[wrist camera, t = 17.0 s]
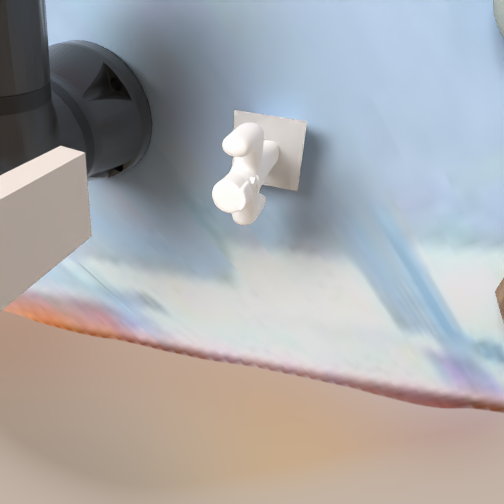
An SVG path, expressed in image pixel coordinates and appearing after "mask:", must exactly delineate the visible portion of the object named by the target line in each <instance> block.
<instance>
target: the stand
mask: <svg viewBox="0 0 504 504" xmlns="http://www.w3.org/2000/svg"><path fill="white" fill-rule="evenodd" d="M495 293H496V297H497V300H498V304H499V308H500V311H501V315H502V319H503V322H504V278H503V280H502V282H501V283H500V285H499V286H498V288H497V290H496V291H495Z"/></svg>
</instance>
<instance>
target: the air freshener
mask: <svg viewBox="0 0 504 504" xmlns="http://www.w3.org/2000/svg"><path fill="white" fill-rule="evenodd" d="M493 7H494V16H495V19H496V23H497V27H498V29H499V31H500V32H501V34H502V36H503V38H504V0H493Z"/></svg>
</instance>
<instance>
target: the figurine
mask: <svg viewBox="0 0 504 504" xmlns="http://www.w3.org/2000/svg"><path fill="white" fill-rule="evenodd" d="M306 127H307V121H301V120H295V119H289V118H282V117H276V116H270V115H263V114H257V113H251V112H244V111H238V110H234V129H233V131H232V132H231V133H230V134H229V135H228V136H227V137H226V138H225V139H224V140H223V143H222V147H223V150H224V151H225V152H226V153H227V154H228V155H231V156H232V168H231V170H230V172H229V173H228V174H227V175H226V176H225V177H224V178H223V179H222V180H220V181H219V182H218V183H217V184H216V185H215V186H214V188H213V191H212V197H213V200H214V203H215V204H216V206H217V207H218V208H219V209H220V210H222V211H224V212H226V213H232V217H233V219H234V221H235V222H236V223H237V224H240V225H249V224H251V223H253V222H254V221H255V220H256V219H257V218H258V216H259V214H260V213H261V211H262V210H263V208H264V206H265V204H266V198H265V196H264V195H262V194H261V193H259V191H260V188H261V186H262V185H267V186H273V187H278V188H283V189H288V190H294V191H298V185H299V177H300V170H301V163H302V156H303V148H304V141H305V134H306Z"/></svg>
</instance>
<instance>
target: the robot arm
mask: <svg viewBox="0 0 504 504" xmlns="http://www.w3.org/2000/svg"><path fill="white" fill-rule="evenodd" d="M151 128H152V123H151V114H150V109H149V105H148V101H147V98H146V96H145V93H144V91H143V89H142V87H141V85H140V83H139V81H138V80H137V78H136V77H135V75H134V74H133V73H132V71H131V70H130V69H129V68H128V66H127V65H126V64H125V63H124V62H123V61H122V60H121V59H120V58H118V57H117V56H116V55H115V54H113V53H112V52H110V51H109V50H107V49H106V48H104V47H102V46H100V45H97V44H95V43H91V42H87V41H80V40H75V41H68V42H63V43H58V44H54V45H51V46H49V47H48V35H47V20H46V6H45V0H0V311H2V310H3V309H4V308H5V307H7V306H8V305H9V304H10V303H11V302H13V301H14V300H15V299H16V298H17V297H19V296H20V295H21V294H22V293H23V292H25V291H26V290H27V289H28V288H30V287H31V286H32V285H33V284H34V283H36V282H37V281H38V280H39V279H40V278H42V277H43V276H44V275H45V274H46V273H48V272H49V271H50V270H51V269H52V268H54V267H55V266H56V265H57V264H59V263H60V262H61V261H62V260H63V259H65V258H66V257H67V256H68V255H69V254H71V253H72V252H73V251H74V250H75V249H77V248H78V247H79V246H80V245H82V244H83V243H84V242H85V241H86V240H88V239H89V238H90V237H91V236H92V234H91V222H90V209H89V196H88V183H87V181H89V180H97V179H105V178H111V177H114V176H117V175H120V174H122V173H124V172H125V171H127V170H128V169H130V168H131V167H132V166H134V165H135V164H136V163H138V162H139V161H140V159H141V158H142V157H143V155H144V154H145V152H146V150H147V148H148V145H149V142H150V138H151Z"/></svg>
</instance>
